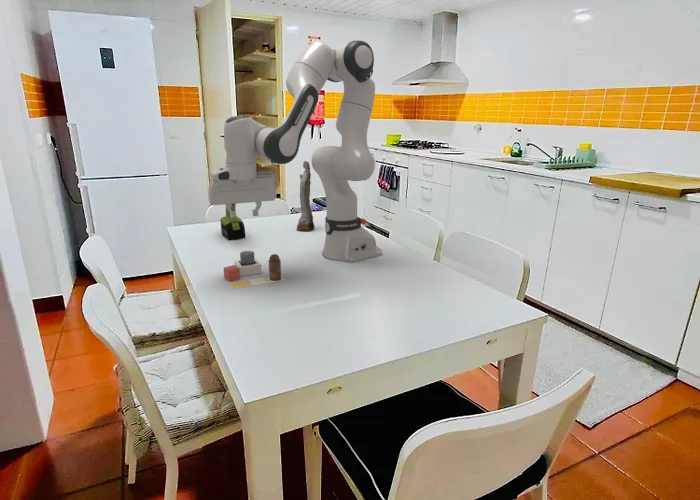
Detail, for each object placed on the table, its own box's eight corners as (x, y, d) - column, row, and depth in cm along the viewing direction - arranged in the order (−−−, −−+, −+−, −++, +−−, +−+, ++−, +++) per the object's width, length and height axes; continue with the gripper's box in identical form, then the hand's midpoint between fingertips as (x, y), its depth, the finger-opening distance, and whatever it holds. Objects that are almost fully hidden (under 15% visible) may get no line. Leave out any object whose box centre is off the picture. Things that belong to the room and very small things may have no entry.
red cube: (234, 275, 134) (233, 265, 133) (240, 278, 132) (239, 268, 130) (224, 278, 132) (223, 267, 131) (229, 281, 129) (228, 270, 128)
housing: (256, 266, 142) (255, 257, 141) (261, 273, 136) (261, 264, 135) (235, 269, 139) (234, 260, 138) (239, 276, 133) (239, 267, 132)
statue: (300, 226, 193) (298, 160, 183) (316, 227, 192) (315, 160, 182) (295, 231, 186) (293, 162, 176) (311, 232, 185) (310, 162, 175)
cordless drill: (255, 245, 167) (251, 181, 158) (237, 247, 163) (232, 183, 155) (236, 230, 185) (231, 173, 177) (219, 233, 181) (214, 174, 173)
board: (270, 264, 146) (270, 261, 146) (289, 286, 129) (289, 282, 129) (220, 272, 139) (220, 269, 138) (233, 296, 122) (233, 292, 122)
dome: (252, 261, 140) (252, 250, 138) (256, 265, 136) (255, 254, 135) (239, 263, 138) (238, 251, 137) (242, 268, 134) (241, 256, 133)
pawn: (279, 275, 134) (278, 251, 131) (282, 279, 131) (281, 255, 128) (268, 277, 133) (266, 253, 130) (271, 281, 129) (270, 257, 127)
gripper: (272, 169, 135) (274, 211, 139) (205, 172, 126) (209, 217, 130) (278, 171, 129) (279, 215, 134) (208, 175, 120) (213, 222, 125)
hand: (244, 216), depth 132 cm, fingers open, 5 cm apart
